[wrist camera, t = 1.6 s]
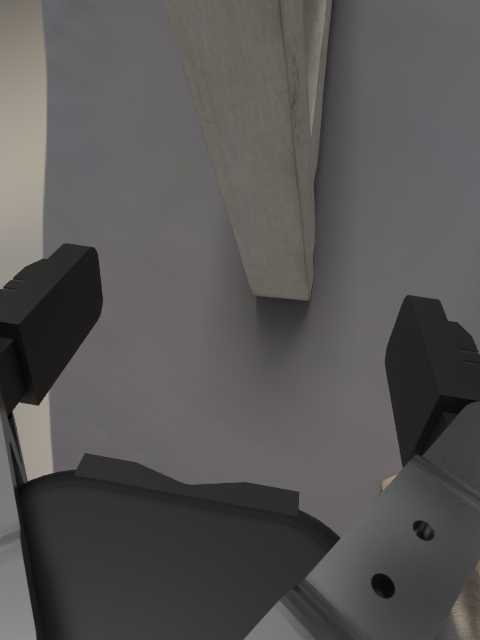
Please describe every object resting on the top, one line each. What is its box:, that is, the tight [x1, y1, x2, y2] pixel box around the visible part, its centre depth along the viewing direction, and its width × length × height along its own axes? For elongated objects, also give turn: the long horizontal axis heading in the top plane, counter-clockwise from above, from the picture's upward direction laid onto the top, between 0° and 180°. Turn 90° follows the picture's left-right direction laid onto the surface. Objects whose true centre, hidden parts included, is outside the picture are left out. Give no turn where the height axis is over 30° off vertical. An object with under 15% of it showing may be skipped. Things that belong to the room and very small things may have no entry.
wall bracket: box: [163, 0, 332, 301], centre depth 31 cm, size 22×4×30 cm
